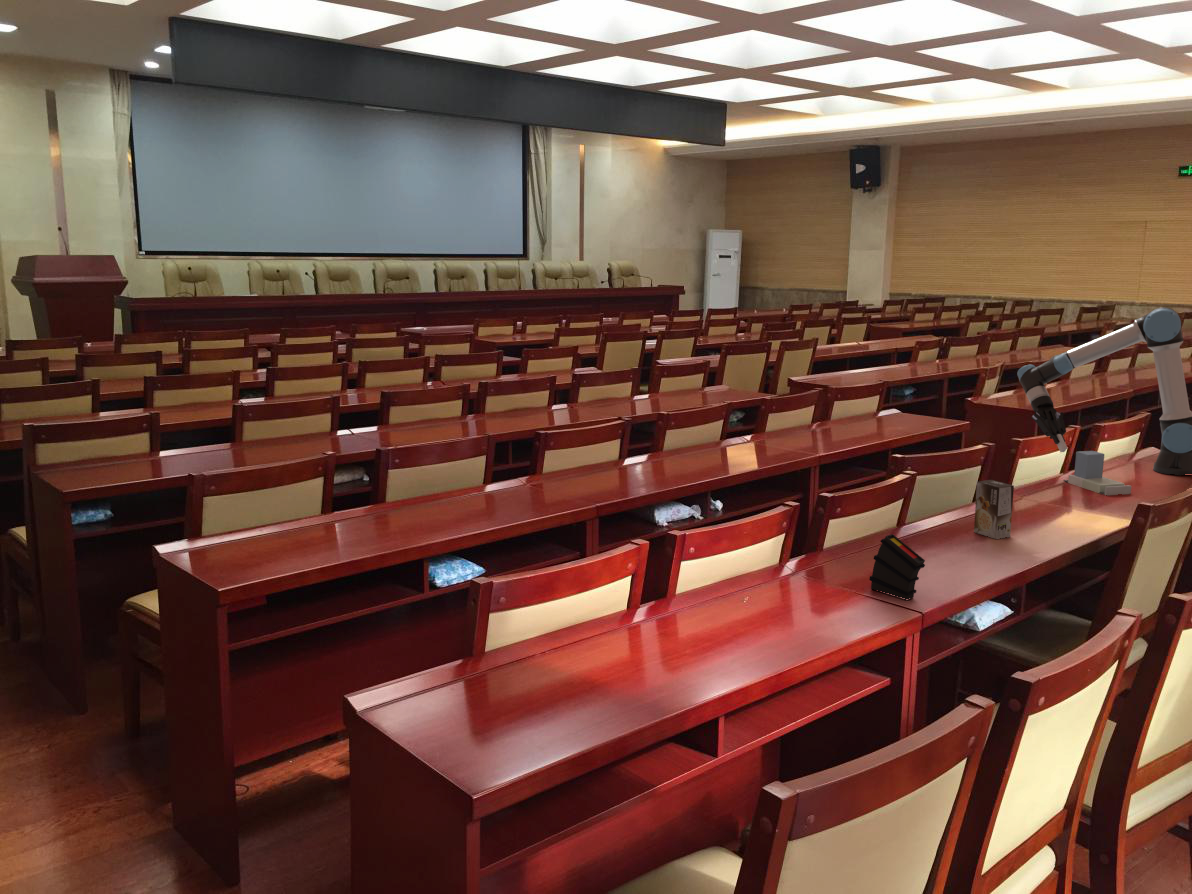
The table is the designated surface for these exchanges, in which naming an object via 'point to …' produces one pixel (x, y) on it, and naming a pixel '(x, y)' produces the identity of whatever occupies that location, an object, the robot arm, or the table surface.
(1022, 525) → the table surface
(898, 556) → the magazine
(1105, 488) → the trap deck
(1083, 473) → the block
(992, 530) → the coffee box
